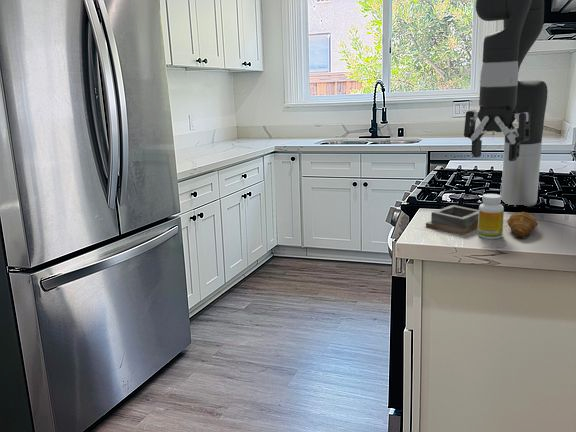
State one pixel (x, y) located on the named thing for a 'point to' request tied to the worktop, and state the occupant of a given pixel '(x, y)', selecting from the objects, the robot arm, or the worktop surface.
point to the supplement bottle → (490, 217)
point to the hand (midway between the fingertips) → (494, 158)
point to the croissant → (522, 224)
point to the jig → (454, 220)
